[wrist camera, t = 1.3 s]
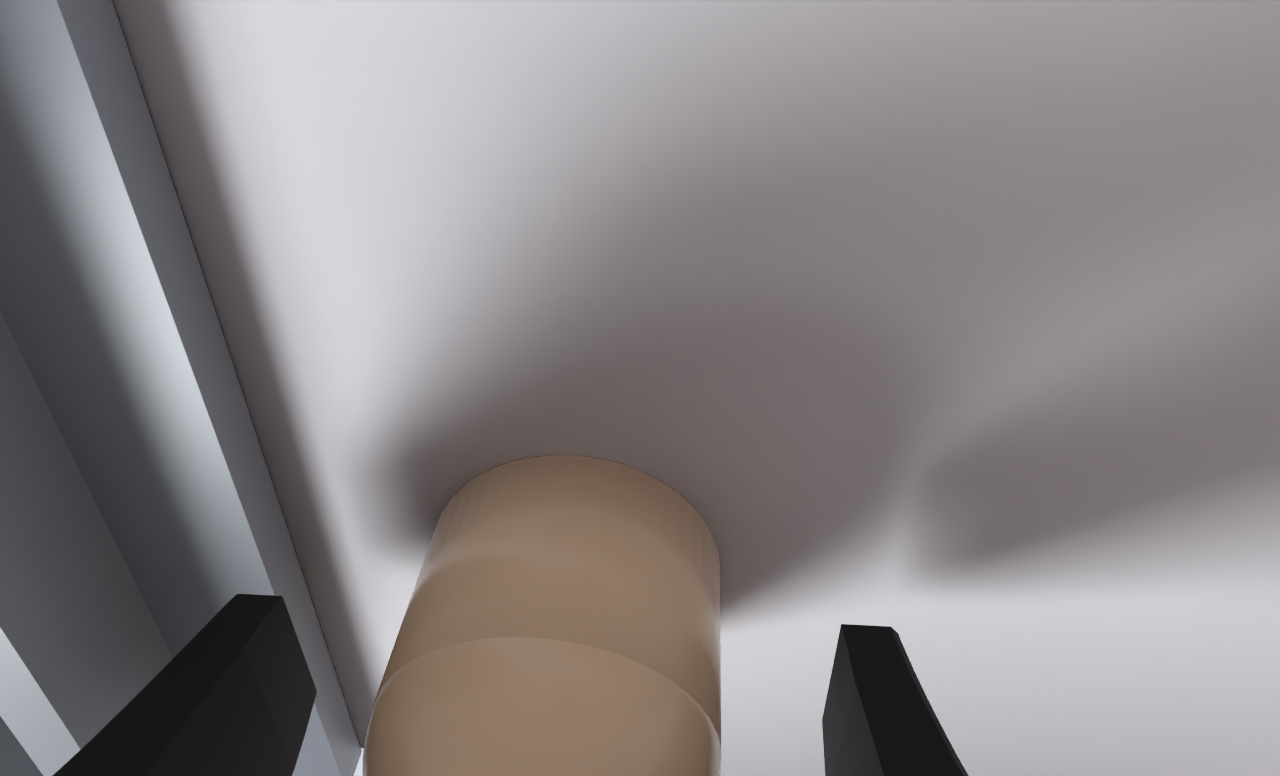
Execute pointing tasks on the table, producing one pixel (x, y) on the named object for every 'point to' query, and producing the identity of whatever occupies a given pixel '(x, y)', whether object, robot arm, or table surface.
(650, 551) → the loose egg
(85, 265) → the carton
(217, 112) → the table surface
